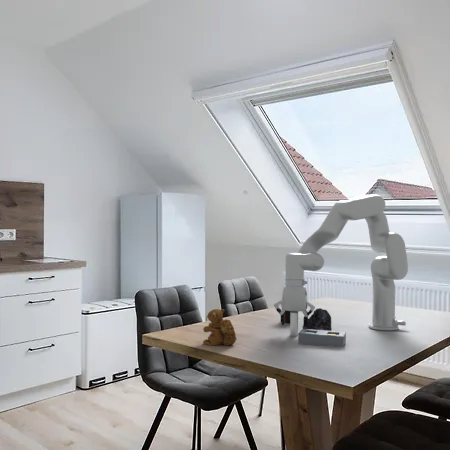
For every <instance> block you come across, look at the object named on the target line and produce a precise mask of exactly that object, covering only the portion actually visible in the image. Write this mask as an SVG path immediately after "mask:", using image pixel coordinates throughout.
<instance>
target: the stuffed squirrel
mask: <svg viewBox="0 0 450 450" xmlns="http://www.w3.org/2000/svg"><path fill="white" fill-rule="evenodd" d="M224 312H225V309H224V308H223V309H219V308H215V309H212V310H210V311H209V312H207V315H206V317H205V321H206V322H207V321H208V320H209V323H208V325H206V326H204V327H203V329H202V330H203V332H204V333H209V336H208V337H207V339H204V340H203V341H202V344H203V345H207V346H222V345H223V346H225V347H228V346H231V345H234V344H235V343H236V341H237V340H238V338H237V337H236V335H237V334H236V332H235V328H234V326H233V324H232V322H231V320H229V319H223V316H224V315H223V314H224Z"/></svg>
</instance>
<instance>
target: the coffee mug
mask: <svg viewBox="0 0 450 450" xmlns="http://www.w3.org/2000/svg"><path fill="white" fill-rule="evenodd" d="M280 306H281V310H283V309H282V304H280ZM284 314H285V324H290V311H285V313H284Z"/></svg>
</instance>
